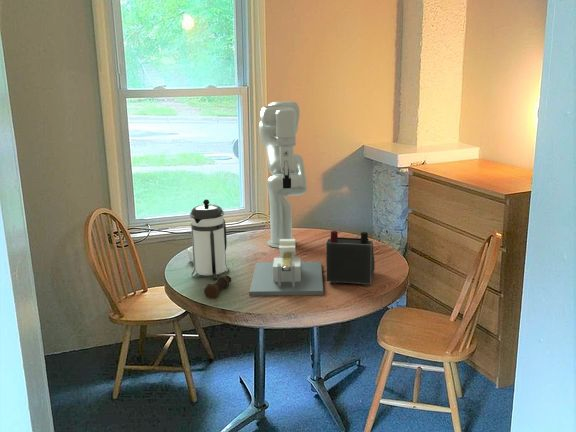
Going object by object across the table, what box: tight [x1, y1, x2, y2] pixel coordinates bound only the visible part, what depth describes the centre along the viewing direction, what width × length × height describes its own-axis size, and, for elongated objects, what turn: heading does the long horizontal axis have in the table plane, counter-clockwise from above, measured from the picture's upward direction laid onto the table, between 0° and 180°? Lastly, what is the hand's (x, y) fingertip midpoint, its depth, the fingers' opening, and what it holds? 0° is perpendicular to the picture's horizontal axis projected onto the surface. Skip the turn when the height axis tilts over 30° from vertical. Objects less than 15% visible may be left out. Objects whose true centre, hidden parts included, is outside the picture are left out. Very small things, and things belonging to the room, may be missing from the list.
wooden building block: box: [282, 253, 291, 271], centre depth 216 cm, size 15×3×11 cm
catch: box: [278, 238, 297, 258], centre depth 225 cm, size 6×6×11 cm
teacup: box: [187, 246, 194, 263], centre depth 244 cm, size 10×8×5 cm
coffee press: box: [189, 199, 230, 282], centre depth 225 cm, size 17×16×30 cm
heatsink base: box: [248, 257, 324, 297], centre depth 220 cm, size 31×26×10 cm
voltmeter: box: [325, 230, 376, 287], centre depth 218 cm, size 16×16×20 cm
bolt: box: [203, 274, 232, 300], centre depth 211 cm, size 6×5×15 cm
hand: (287, 187), depth 232 cm, fingers closed
